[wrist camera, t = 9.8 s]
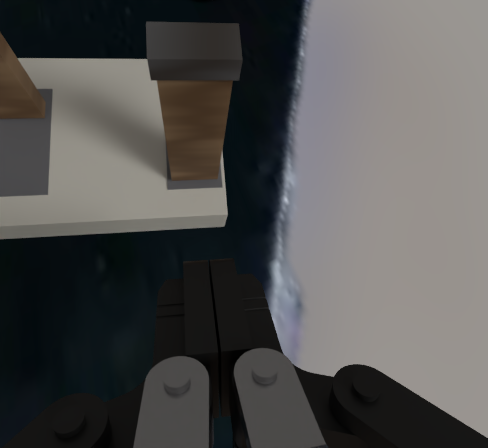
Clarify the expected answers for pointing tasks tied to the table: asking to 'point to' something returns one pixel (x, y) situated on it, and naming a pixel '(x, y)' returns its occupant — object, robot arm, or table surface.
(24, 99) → the middle paddle
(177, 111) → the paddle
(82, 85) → the switch panel
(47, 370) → the table surface
